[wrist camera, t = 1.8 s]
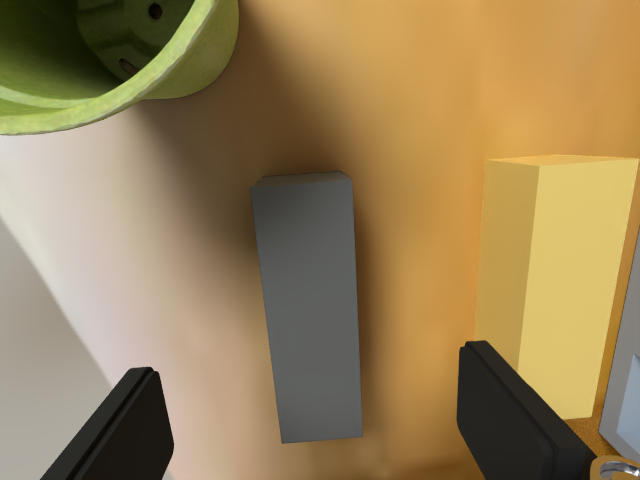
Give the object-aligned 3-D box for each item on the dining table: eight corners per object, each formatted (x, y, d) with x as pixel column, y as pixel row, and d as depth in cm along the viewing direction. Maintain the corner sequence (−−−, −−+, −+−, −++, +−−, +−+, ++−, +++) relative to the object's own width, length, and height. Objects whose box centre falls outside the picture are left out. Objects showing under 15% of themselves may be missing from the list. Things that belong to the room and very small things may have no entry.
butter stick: (482, 159, 16) (539, 166, 12) (558, 154, 16) (639, 158, 12) (469, 365, 19) (512, 423, 15) (533, 360, 19) (591, 416, 15)
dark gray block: (263, 176, 16) (250, 187, 12) (340, 170, 16) (352, 180, 12) (286, 381, 19) (281, 443, 15) (351, 376, 19) (362, 436, 15)
